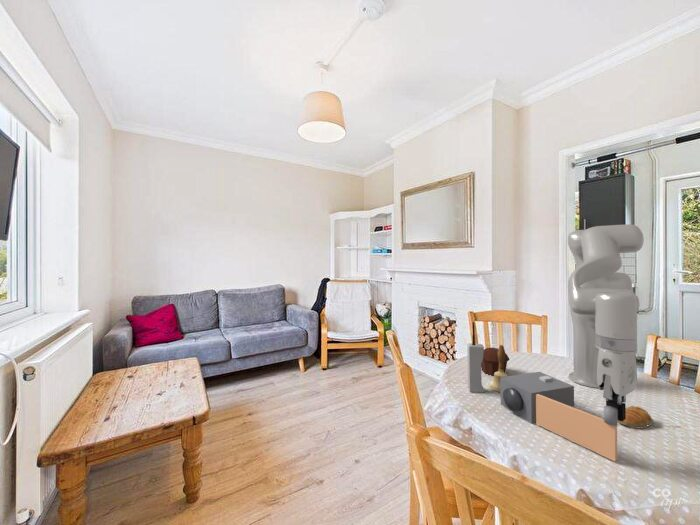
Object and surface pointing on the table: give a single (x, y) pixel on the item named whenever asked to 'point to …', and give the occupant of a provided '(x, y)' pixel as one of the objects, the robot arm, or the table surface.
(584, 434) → the side door
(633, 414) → the pastry
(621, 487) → the table surface
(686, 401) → the table surface
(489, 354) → the muffin
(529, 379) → the cabinet body
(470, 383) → the vintage mobile phone
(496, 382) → the hand bell
